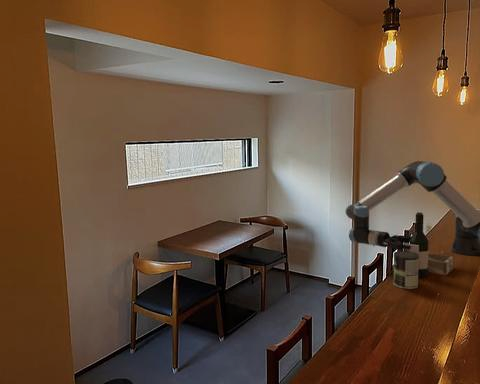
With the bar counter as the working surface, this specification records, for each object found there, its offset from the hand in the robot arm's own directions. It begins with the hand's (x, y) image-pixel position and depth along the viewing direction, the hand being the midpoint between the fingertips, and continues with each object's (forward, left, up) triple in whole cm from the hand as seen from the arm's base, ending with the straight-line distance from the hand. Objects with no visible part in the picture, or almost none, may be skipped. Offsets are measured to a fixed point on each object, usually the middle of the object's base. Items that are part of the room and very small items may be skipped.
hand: (423, 245), depth 184 cm
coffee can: (+16, -2, -15) cm, 22 cm away
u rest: (-13, +2, -15) cm, 20 cm away
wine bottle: (0, -2, -15) cm, 15 cm away
